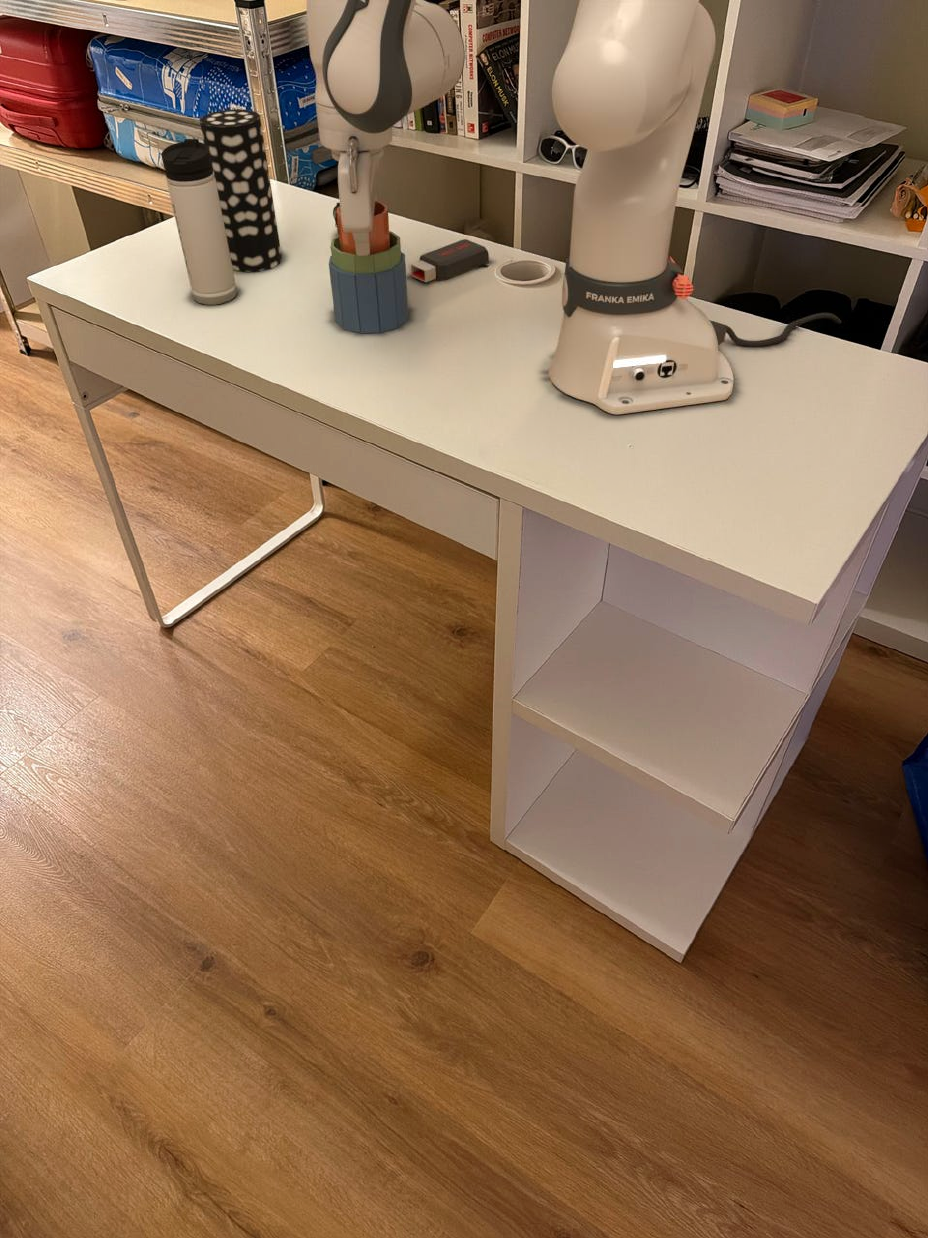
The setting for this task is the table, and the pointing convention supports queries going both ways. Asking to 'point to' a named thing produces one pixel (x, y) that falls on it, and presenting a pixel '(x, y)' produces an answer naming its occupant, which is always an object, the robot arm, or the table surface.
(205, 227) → the travel mug
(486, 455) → the table surface
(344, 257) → the cup stack
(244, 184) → the spotted tube
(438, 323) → the table surface
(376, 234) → the terracotta cup
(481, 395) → the table surface
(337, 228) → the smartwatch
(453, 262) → the usb drive
